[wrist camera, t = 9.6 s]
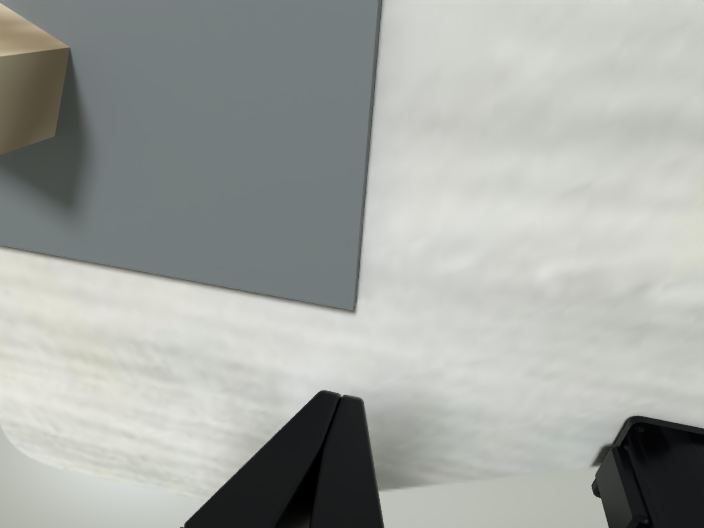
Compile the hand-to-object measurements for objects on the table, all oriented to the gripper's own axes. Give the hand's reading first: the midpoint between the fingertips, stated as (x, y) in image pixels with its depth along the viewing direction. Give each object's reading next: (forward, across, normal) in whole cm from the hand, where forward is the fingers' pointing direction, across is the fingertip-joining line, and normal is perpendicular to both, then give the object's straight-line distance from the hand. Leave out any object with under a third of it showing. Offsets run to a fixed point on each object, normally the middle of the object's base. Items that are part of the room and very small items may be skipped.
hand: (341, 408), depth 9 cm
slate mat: (+13, +13, -1) cm, 19 cm away
